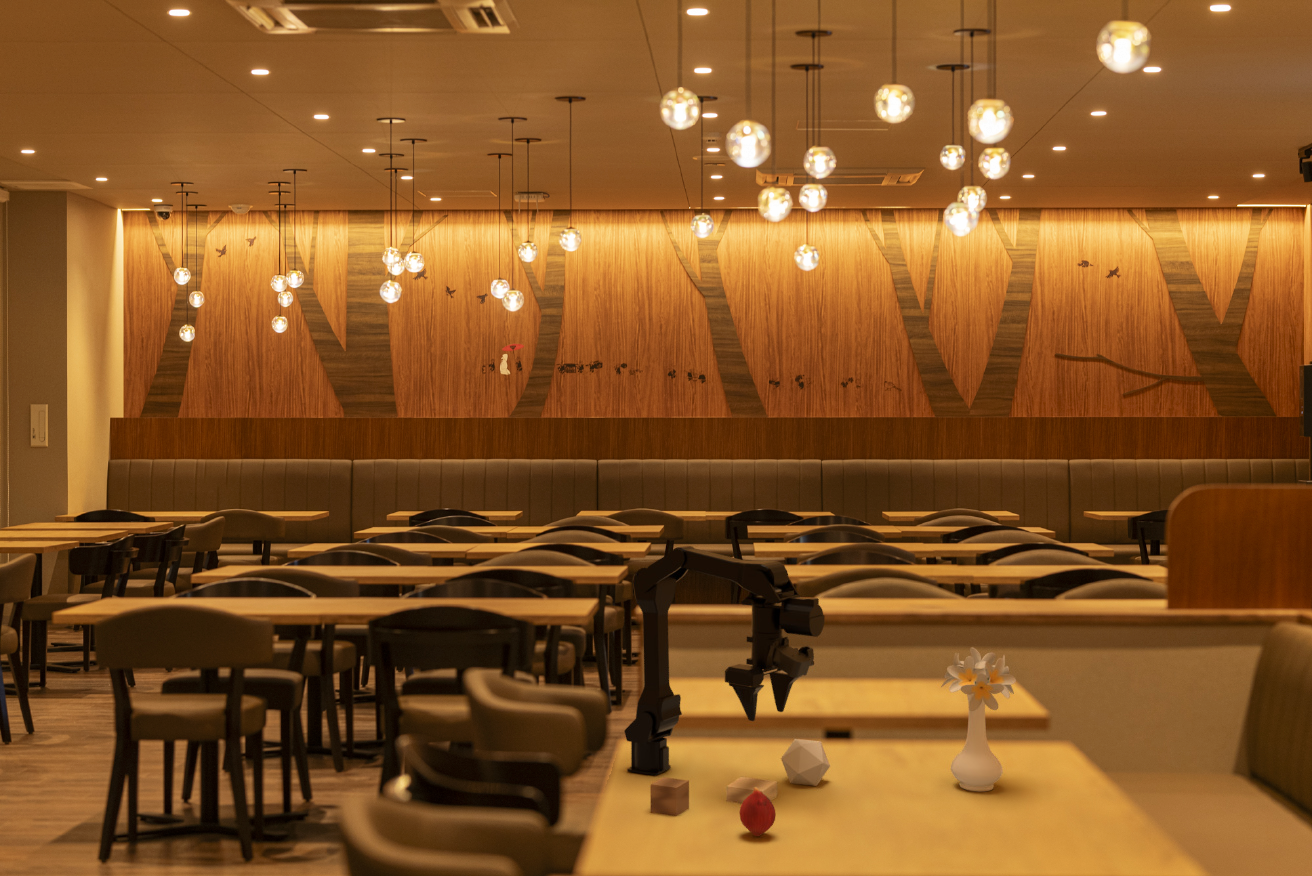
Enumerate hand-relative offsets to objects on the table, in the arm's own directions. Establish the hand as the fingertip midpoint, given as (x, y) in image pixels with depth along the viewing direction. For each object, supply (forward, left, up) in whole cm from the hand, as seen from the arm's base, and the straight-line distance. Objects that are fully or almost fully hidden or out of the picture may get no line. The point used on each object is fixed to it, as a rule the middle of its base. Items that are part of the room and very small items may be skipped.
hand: (766, 716), depth 235 cm
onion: (+8, -24, -14) cm, 29 cm away
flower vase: (+34, +20, -14) cm, 42 cm away
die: (+4, +9, -14) cm, 18 cm away
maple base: (-1, -5, -14) cm, 15 cm away
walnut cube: (-11, -18, -14) cm, 25 cm away
